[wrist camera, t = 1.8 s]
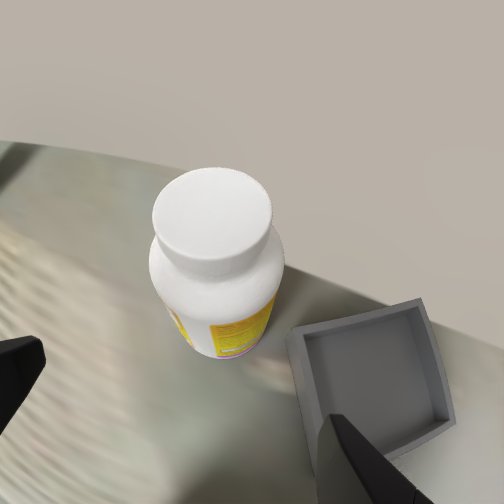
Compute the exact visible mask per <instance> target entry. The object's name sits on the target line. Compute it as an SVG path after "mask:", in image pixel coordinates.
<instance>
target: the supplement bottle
mask: <svg viewBox="0 0 504 504" xmlns="http://www.w3.org/2000/svg"><path fill="white" fill-rule="evenodd" d="M272 214H273V212H272V204H271V201H270V198H269V195H268V194H267V192H266V190H265V189H264V188H263V186H262V185H260V184H259V183H258V182H257V181H256V180H254V179H253V178H252V177H250V176H248V175H246V174H245V173H242V172H240V171H237V170H233V169H229V168H217V167H215V168H214V167H212V168H202V169H197V170H193V171H190V172H188V173H185V174H183V175H181V176H179V177H177V178H176V179H174V180H173V181H171V182H170V183H169V184H168V185H167V186H166V187H165V188H164V189H163V190H162V191H161V193H160V194H159V196H158V198H157V199H156V202H155V204H154V208H153V215H152V219H153V226H154V229H155V233H156V236H155V238H154V240H153V242H152V245H151V249H150V255H149V270H150V275H151V279H152V282H153V284H154V287H155V289H156V291H157V293H158V294H159V296H160V298H161V300H162V301H163V303H164V305H165V306H166V308H167V310H168V311H169V313H170V315H171V317H172V318H173V320H174V322H175V324H176V325H177V327H178V329H179V330H180V332H181V333H182V335H183V337H184V338H185V340H186V341H187V342H188V343H189V344H190V345H191V346H192V347H193V348H194V349H195V350H196V351H198V352H199V353H201V354H203V355H206V356H208V357H212V358H218V359H229V358H234V357H237V356H240V355H242V354H244V353H246V352H248V351H249V350H250V349H252V348H253V347H254V346H255V345H256V344H257V343H258V341H259V340H260V339H261V337H262V335H263V333H264V331H265V328H266V325H267V322H268V319H269V317H270V313H271V310H272V307H273V304H274V301H275V298H276V295H277V292H278V288H279V285H280V282H281V279H282V274H283V270H284V251H283V246H282V243H281V240H280V238H279V235H278V234H277V232H276V230H275V229H274V227H273V226H272V224H271V223H272V217H273V215H272Z"/></svg>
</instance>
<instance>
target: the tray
mask: <svg viewBox="0 0 504 504" xmlns="http://www.w3.org/2000/svg"><path fill="white" fill-rule="evenodd" d="M285 342H286V347H287V351H288V356H289V360H290V365H291V369H292V374H293V378H294V383H295V388H296V392H297V397H298V402H299V406H300V411H301V416H302V420H303V425H304V430H305V434H306V439H307V444H308V449H309V454H310V458H311V463H312V468H313V473H314V476H315V477H316V478H317V440H318V433H319V431H320V429H321V426H322V424H323V422H324V420H325V418H326V416H327V415H328V414H330V413H336V414H343V415H344V416H345V417H346V418H347V419H348V420H349V421H350V422H351V423H352V424H353V425H354V426H355V427H356V428H357V429H358V431H359V432H360V433H361V434H362V435H363V436H364V437H365V438H366V439H367V440H368V441H369V442H370V443H371V444H372V445H373V446H374V447H375V448H376V449H377V450H378V451H379V452H380V453H381V454H382V455H383V456H384V457H385V458H386V459H387V460H388V461H390V460H392V459H394V458H396V457H398V456H400V455H402V454H404V453H406V452H408V451H410V450H412V449H414V448H416V447H418V446H420V445H421V444H423V443H425V442H427V441H429V440H430V439H432V438H434V437H435V436H437V435H439V434H440V433H442V432H444V431H445V430H447V429H448V428H450V427H452V426H453V425H455V424H456V419H455V414H454V409H453V404H452V399H451V395H450V390H449V386H448V382H447V378H446V374H445V370H444V367H443V363H442V360H441V356H440V353H439V349H438V346H437V343H436V340H435V336H434V333H433V330H432V327H431V324H430V321H429V319H428V316H427V313H426V310H425V307H424V305H423V302H422V299H421V298H418V299H415V300H411V301H407V302H404V303H400V304H396V305H392V306H389V307H385V308H381V309H377V310H373V311H369V312H365V313H360V314H356V315H352V316H347V317H343V318H338V319H334V320H329V321H324V322H319V323H314V324H309V325H304V326H299V327H293V328H292V329H291V331H290V332H289V334H288V335H287V337H286V338H285Z"/></svg>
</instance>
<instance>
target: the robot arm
mask: <svg viewBox="0 0 504 504" xmlns="http://www.w3.org/2000/svg"><path fill="white" fill-rule="evenodd" d="M45 364H46V357H45V353H44V349H43V344H42V341H41V340H40V339H38V338H36V337H34V336H25V337H20V338H15V339H9V340H4V341H0V435H1V433H2V432H3V430H4V429H5V427H6V426H7V424H8V423H9V421H10V420H11V419H12V417H13V416H14V414H15V413H16V411H17V410H18V408H19V407H20V406H21V404H22V403H23V401H24V400H25V398H26V397H27V395H28V394H29V392H30V390H31V389H32V387H33V385H34V383H35V382H36V380H37V378H38V377H39V375H40V373H41V372H42V370H43V369H44V367H45ZM317 494H318V504H434V503H433V502H432V501H431V500H430V499H428V498H427V497H426V496H425V495H424V494H423V493H422V492H421V491H420V490H418V489H417V490H416V487H415V486H414V485H413V484H412V483H411V482H410V481H409V480H408V479H407V478H406V477H405V476H404V475H403V474H402V473H401V472H399V471H398V470H397V469H396V468H395V467H394V466H393V465H392V464H391V463H390V462H389V461H388V460H387V459H386V458H385V457H384V456H383V455H382V454H381V453H380V452H379V451H378V450H377V449H376V448H375V447H374V446H373V445H372V444H371V443H370V442H369V441H368V440H367V439H366V438H365V437H364V436H363V435H362V434H361V433H360V432H359V431H358V429H357V428H356V427H355V426H354V425H353V424H352V423H351V422H350V421H349V420H348V419H347V418H346V417H345V416H344V415H343V414H336V413H330V414H328V415H327V416H326V418H325V420H324V422H323V424H322V426H321V429H320V431H319V433H318V440H317Z"/></svg>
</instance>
